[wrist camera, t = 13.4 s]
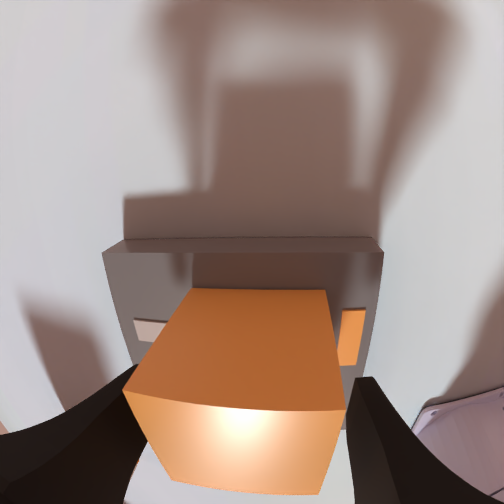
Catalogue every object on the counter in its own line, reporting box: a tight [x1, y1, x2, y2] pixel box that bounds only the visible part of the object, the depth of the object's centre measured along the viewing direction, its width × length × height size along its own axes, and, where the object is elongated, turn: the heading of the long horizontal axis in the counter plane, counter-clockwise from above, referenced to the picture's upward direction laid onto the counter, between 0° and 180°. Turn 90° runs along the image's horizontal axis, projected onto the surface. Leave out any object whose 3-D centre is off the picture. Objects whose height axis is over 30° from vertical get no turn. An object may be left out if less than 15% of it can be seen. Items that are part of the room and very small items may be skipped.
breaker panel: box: [102, 237, 384, 430], centre depth 14 cm, size 12×11×3 cm
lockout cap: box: [122, 288, 346, 495], centre depth 10 cm, size 5×5×6 cm
